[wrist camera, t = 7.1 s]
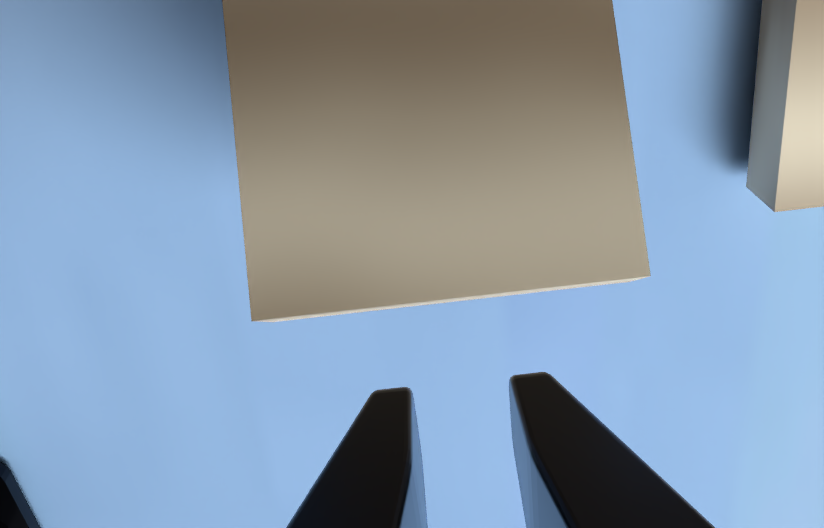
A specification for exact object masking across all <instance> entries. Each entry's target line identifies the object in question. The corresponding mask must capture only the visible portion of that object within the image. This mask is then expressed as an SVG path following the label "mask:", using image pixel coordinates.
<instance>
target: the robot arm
mask: <svg viewBox="0 0 824 528" xmlns="http://www.w3.org/2000/svg"><path fill="white" fill-rule="evenodd" d="M509 396H510V411H511V426H512V439H513V448H514V455H515V461H516V467H517V473H518V479H519V485H520V491H521V498H522V504H523V510H524V516H525V522H526V528H715V527H714V526H713V525H712V524H711V523H710V522H709V521H707V520H706V519H705V518H704V517H703V516H702V515H701V514H700V513H699V512H698V511H697V510H696V509H695V508H693V507H692V506H691V505H690V504H689V503H688V502H687V501H686V500H685V499H684V498H683V497H682V496H681V495H679V494H678V493H677V492H676V491H675V490H674V489H673V488H672V487H671V486H670V485H669V484H668V483H667V482H665V481H664V480H663V479H662V478H661V477H660V476H659V475H658V474H657V473H656V472H655V471H654V470H653V469H651V468H650V467H649V466H648V465H647V464H646V463H645V462H644V461H643V460H642V459H641V458H640V457H639V456H637V455H636V454H635V453H634V452H633V451H632V450H631V449H630V448H629V447H628V446H627V445H626V444H625V443H623V442H622V441H621V440H620V439H619V438H618V437H617V436H616V435H615V434H614V433H613V432H612V431H611V430H609V429H608V428H607V427H606V426H605V425H604V424H603V423H602V422H601V421H600V420H599V419H598V418H597V417H595V416H594V415H593V414H592V413H591V412H590V411H589V410H588V409H587V408H586V407H585V406H584V405H583V404H581V403H580V402H579V401H578V400H577V399H576V398H575V397H574V396H573V395H572V394H571V393H570V392H569V391H567V390H566V389H565V388H564V387H563V386H562V385H561V384H560V383H559V382H558V381H557V380H556V379H555V378H553V377H552V376H551V375H550V374H548V373H546V372H538V373H529V374H520V375H514V376H512V377H511V378H510V380H509ZM0 528H40V527H39V525H38V523H37V521H36V519H35V517H34V515H33V513H32V511H31V509H30V507H29V506H28V504H27V502H26V500H25V498H24V496H23V494H22V492H21V490H20V488H19V486H18V484H17V482H16V480H15V478H14V476H13V475H12V473H11V471H10V470H9V469H8V467H7V466H5V465H4V464H2V463H0ZM286 528H428V526H427V513H426V501H425V488H424V476H423V464H422V454H421V446H420V439H419V432H418V425H417V418H416V411H415V404H414V398H413V393H412V391H411V390H410V388H408V387H400V388H391V389H382V390H377V391H374V392H373V393H372V394H371V395H370V397H369V398H368V400H367V402H366V403H365V405H364V406H363V408H362V409H361V411H360V413H359V414H358V416H357V417H356V419H355V420H354V422H353V424H352V425H351V427H350V428H349V430H348V431H347V433H346V435H345V436H344V438H343V439H342V441H341V442H340V444H339V446H338V447H337V449H336V450H335V452H334V453H333V455H332V457H331V458H330V460H329V461H328V463H327V465H326V466H325V468H324V469H323V471H322V472H321V474H320V476H319V477H318V479H317V480H316V482H315V483H314V485H313V487H312V488H311V490H310V491H309V493H308V494H307V496H306V498H305V499H304V501H303V502H302V504H301V505H300V507H299V509H298V510H297V512H296V513H295V515H294V516H293V518H292V520H291V521H290V523H289V524H288V526H287V527H286Z"/></svg>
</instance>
